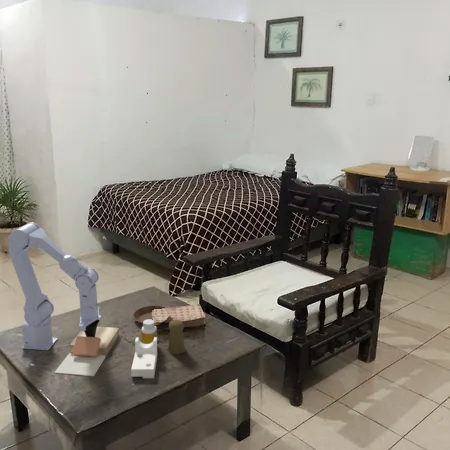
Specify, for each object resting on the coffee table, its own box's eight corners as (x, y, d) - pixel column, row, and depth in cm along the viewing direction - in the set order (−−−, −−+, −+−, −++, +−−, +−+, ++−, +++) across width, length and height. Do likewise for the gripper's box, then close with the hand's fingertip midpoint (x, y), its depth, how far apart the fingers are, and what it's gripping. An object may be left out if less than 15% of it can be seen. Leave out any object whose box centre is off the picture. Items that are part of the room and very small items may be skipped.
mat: (54, 373, 159) (54, 372, 159) (69, 353, 170) (69, 352, 170) (93, 376, 158) (93, 375, 157) (106, 356, 169) (106, 355, 169)
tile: (74, 354, 168) (72, 352, 166) (78, 338, 171) (77, 336, 169) (96, 356, 167) (95, 354, 165) (101, 339, 170) (99, 337, 169)
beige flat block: (70, 352, 171) (69, 345, 170) (85, 332, 184) (84, 325, 183) (106, 355, 169) (106, 347, 169) (119, 335, 183) (118, 328, 182)
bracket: (136, 357, 170) (135, 337, 167) (157, 356, 170) (156, 337, 168) (131, 379, 157) (130, 358, 155) (153, 378, 157) (153, 358, 155)
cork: (164, 349, 174) (163, 321, 171) (177, 343, 178) (176, 316, 175) (175, 356, 170) (175, 327, 167) (188, 349, 174) (188, 321, 171)
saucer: (140, 332, 186) (140, 325, 185) (128, 315, 198) (128, 309, 198) (176, 324, 192) (176, 317, 192) (163, 308, 205) (163, 302, 204)
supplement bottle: (154, 351, 173) (153, 326, 170) (139, 349, 174) (138, 324, 171) (159, 343, 178) (158, 319, 175) (144, 341, 179) (144, 317, 176)
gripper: (92, 314, 161) (94, 351, 165) (107, 296, 175) (108, 330, 178) (71, 313, 161) (74, 350, 165) (87, 294, 175) (90, 329, 179)
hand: (91, 339), depth 172 cm, fingers closed
